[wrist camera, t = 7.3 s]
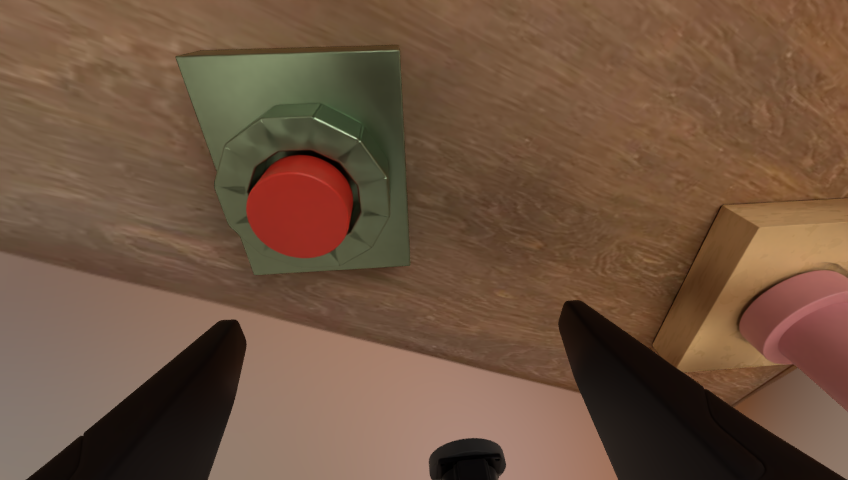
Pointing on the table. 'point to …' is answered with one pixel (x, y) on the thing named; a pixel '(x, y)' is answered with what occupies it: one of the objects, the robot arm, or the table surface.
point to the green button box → (308, 139)
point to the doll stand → (748, 276)
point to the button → (301, 207)
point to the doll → (805, 328)
